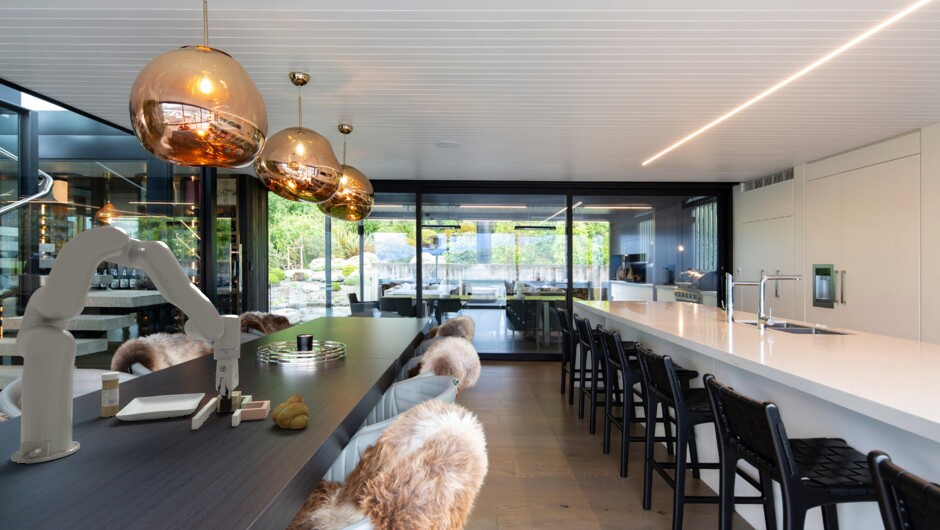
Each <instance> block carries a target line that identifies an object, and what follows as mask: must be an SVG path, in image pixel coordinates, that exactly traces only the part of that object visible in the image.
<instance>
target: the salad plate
mask: <svg viewBox="0 0 940 530" xmlns="http://www.w3.org/2000/svg"><path fill="white" fill-rule="evenodd" d="M205 396H206V393H204V392H200V393H183V394H166V395H155V396H145V397H144V396H143V397H142V396H141V397H135V398H134V399H132V400H131V401H130V402H129V403H128V404H127V405H126V406H124V407H123V408H122V409H121V410H120V411H119V412H118V413H117V414H116V415H115V416H114V417H116V418H117V420H121V421H127V422H129V421H130V422H131V421H132V422H135V421H145V420H146V421H147V420H157V419H166V418H167V419H168V417H169V418H177V417H178V416H179V417H184V415H185V416H188V415H191V414H193V413H194V412H195V411H196V410H197V408H198V406H199V404H200V402H201V400H203V398H204V397H205Z"/></svg>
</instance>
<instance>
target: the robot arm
mask: <svg viewBox="0 0 940 530" xmlns="http://www.w3.org/2000/svg"><path fill="white" fill-rule="evenodd" d="M104 261H105V262H108V263H112V264H116V265H119V266H123V267H128V268H132V269H138V270H144V271H145V274H146V275H147V277H149V279H150V280H151V282H152V284H153V285H154V286H155V287H156V289H157V290H158V293H159V294H160V296H161V297H162V298H164V299H165V300H166V301H167V302H168V303H170V304H172V305H174V306H175V307H176V308H178V309H179V310H181V311H182V312H183V313H184V314H185V315H186V316H187V318H188V320H186V322H185V324H184V326H183V331H184V333H185V335H186V336H188V337H189V338H191V339H193V340H196V341H204V342H210V343H211V342H213V359H214V360H216V372H215V390H216V391H217V392H219V395H220V412H219V413H224V412H225V413H228V412H227V411H229V412H232V411H231V410H232V398H230V397H232V392H233V391H234V390H235V389H236V388H237V387H238V386H239V360H238V359H239V358H241V322H242V321H241V317H240V315H237V314H222V315H220V313H219V311H218V310H217V308H216V307H215V305H214V304H213V303H212V302H211V300H210V299H209V298H208V297H207V296H206V295H205V294H204V293H203V292H202V291H201V289H199V288H198V287H197V286H196V285H195V284H194V283H193V282H192V280H191V279H190V277H189V276H188V275H187V273H186V271H185V270H184V268H183V267H182V265H181V263H180V261H179V260H178V259H177V257H176V256H175V254H174V253H173V251H172V250H171V248H170V247H169V246H168V245H167V244H166V243H165V242H163V241H160V240H141V239H136V238H132V237H130V236H129V233H128V232H127V231H126V230H125V229H123V228H122V227H119V226H115V225H102V226H98V227H97V226H96V227H93V228H89V229H87V230H84V231H82V232H80V233H78V234H77V235H75V236H74V237H72V238H70V239H69V240H68V241H67V242H65V244H64V245H63V246H62V247H61V248H60V250H59V251H58V253H57V255H56V257H55V259H54V262H53V264H52V266H51V270H50V272H49V273H48V277H47V280H46V281H45V282H46V283H45V285H42V286H41V287H39V288H38V289H36V290H35V291H34V292H33V293H32V295H31V296H30V297H29V300H28V302H27V305H26V307H25V311H24V314H23V317H22V319H21V323H20V325H19V328H18V332H17V334H16V339H15V348H16V351H17V353H18V354H19V355H20V356H21V357H22V358H23V368H22V369H23V370H22V375H21V376H22V378H21V405H20V407H21V412H20V413H21V414H20V415H21V416H20V417H21V418H20V448H19V449H18V450H17V451H16V452H14V453H12V455H11V458H10V460H12V461H14V462H17V463H16V464H19V463H26V464H37V463H43V462H49V461H52V460H57V459H60V458H64V457H66V456H69V455H72V454H74V453H76V452H78V451H79V450H80V448H81V443H80V442H78V441H74V440H73V418H74V417H73V414H74V413H73V412H74V411H73V410H74V409H73V408H74V406H73V405H74V371H75V362H76V356H77V342H76V339H75V337H74V335H73V334H72V333H71V332H70V331H68V328H69V325H70V322H71V320H73V319H76V318H77V317H78V316H80V315H81V313H82V312H83V310H84V309H85V305H86V301H87V298H88V294H89V292H90V291H89V290H90V288H91V284H92V281H93V279H94V276H95V273H96V271H97V269H98V267H99V266H100V264H101V263H102V262H104ZM12 461H11V462H12ZM14 462H13V463H14Z"/></svg>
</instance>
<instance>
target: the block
mask: <svg viewBox="0 0 940 530" xmlns="http://www.w3.org/2000/svg"><path fill="white" fill-rule="evenodd" d="M241 396H242V390H241V391H240V390H239V391H232V397H230V398H232V410H231V411H230V412H235V411H236V410H237V409H241ZM216 398H217V408H216V412H217V413H221V412H220V394H219V395H218V396H217V397H216Z"/></svg>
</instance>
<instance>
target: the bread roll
mask: <svg viewBox="0 0 940 530" xmlns="http://www.w3.org/2000/svg"><path fill="white" fill-rule="evenodd" d="M309 417H310V413H309V409H308V407H307V405H306V404H305V400H304V398H303V396H302V395H300V394H294V395H291V396H290V397H289V398H288V399H287V400H286V401H285V402H282V403H281V404H279V405H277V406H276V407H275V408H274V409H273V410H272V415H271V420H272V422H273V423H274V424H276V425H278V427H280V428H282V429H292V430H297V429H298V430H299V429H303V428H305V427H306V426H307V425H308V424H309V420H310V419H309Z"/></svg>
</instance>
